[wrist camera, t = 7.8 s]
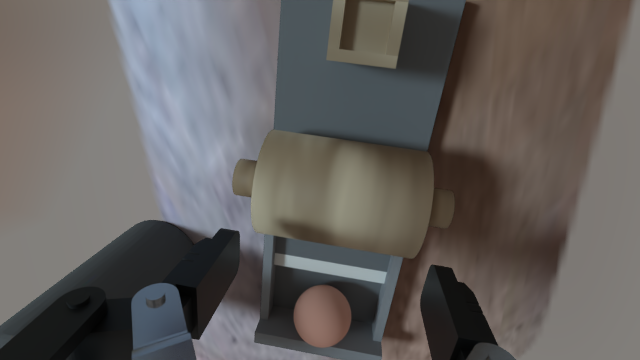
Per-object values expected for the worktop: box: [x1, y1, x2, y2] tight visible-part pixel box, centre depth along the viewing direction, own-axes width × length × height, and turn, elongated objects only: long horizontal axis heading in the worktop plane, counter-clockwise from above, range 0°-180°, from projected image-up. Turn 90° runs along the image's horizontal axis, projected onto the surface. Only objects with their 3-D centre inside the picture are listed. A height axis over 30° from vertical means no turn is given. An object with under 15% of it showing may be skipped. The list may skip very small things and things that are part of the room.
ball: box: [294, 285, 351, 348], centre depth 22 cm, size 4×4×4 cm
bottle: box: [0, 220, 193, 349], centre depth 18 cm, size 6×6×15 cm
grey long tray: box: [254, 0, 466, 360], centre depth 19 cm, size 23×9×3 cm, turn 173°
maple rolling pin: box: [232, 130, 455, 259], centre depth 17 cm, size 11×6×6 cm, turn 83°
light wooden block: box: [326, 0, 409, 69], centre depth 15 cm, size 3×3×4 cm
